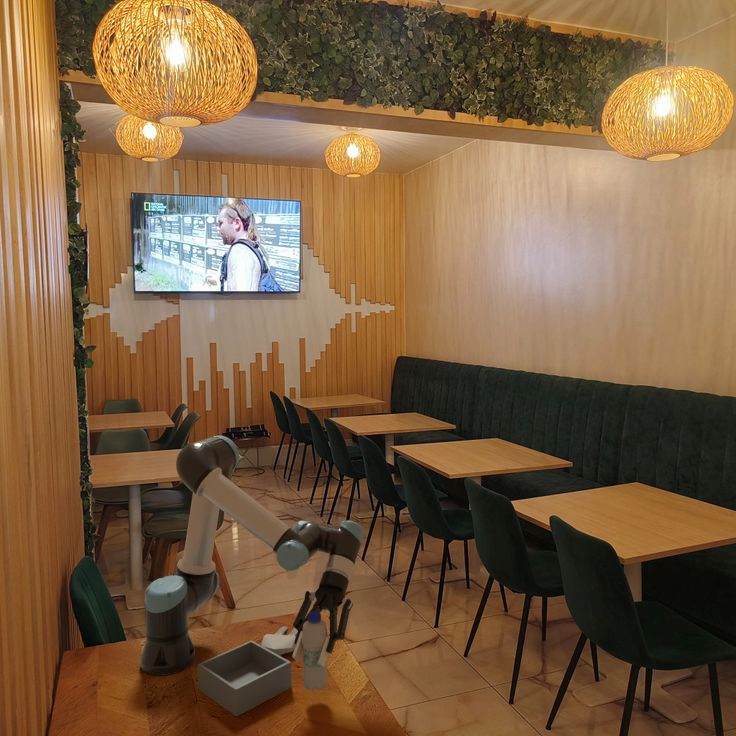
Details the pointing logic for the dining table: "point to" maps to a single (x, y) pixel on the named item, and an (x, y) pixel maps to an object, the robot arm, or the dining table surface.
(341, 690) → the dining table surface
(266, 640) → the turret
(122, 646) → the dining table surface
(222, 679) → the tray
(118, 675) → the dining table surface
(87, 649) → the dining table surface
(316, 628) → the bottle
